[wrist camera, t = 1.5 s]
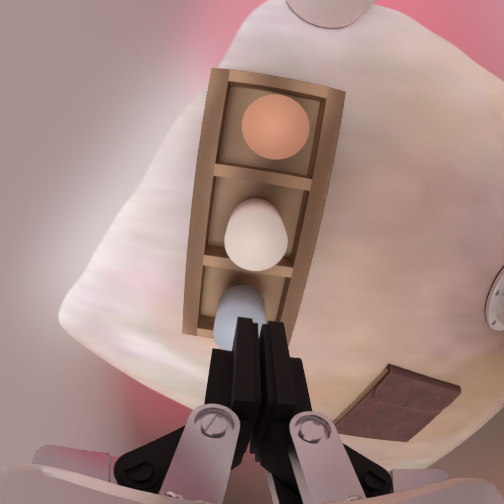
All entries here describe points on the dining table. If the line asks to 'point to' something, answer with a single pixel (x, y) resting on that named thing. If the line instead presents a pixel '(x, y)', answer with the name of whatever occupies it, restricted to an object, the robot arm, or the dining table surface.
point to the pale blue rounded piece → (237, 313)
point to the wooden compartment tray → (256, 195)
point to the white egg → (255, 235)
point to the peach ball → (275, 126)
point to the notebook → (396, 406)
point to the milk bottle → (330, 11)
